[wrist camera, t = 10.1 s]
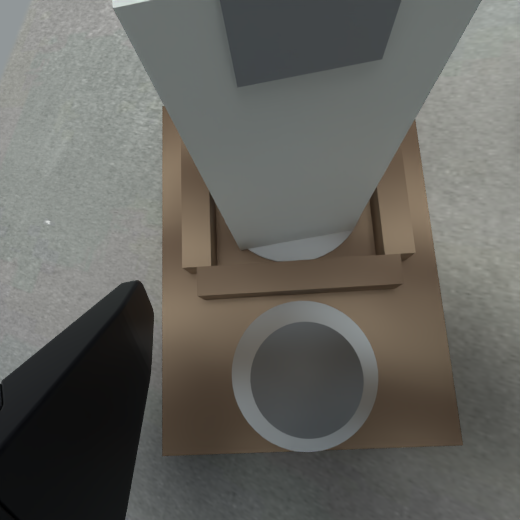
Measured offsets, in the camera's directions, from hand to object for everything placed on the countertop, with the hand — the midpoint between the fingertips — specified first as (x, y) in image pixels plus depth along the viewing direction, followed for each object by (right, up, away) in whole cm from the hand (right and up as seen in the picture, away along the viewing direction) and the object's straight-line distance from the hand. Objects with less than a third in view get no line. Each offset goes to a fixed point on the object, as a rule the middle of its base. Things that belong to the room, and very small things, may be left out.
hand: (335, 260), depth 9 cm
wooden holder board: (0, 0, +9) cm, 9 cm away
